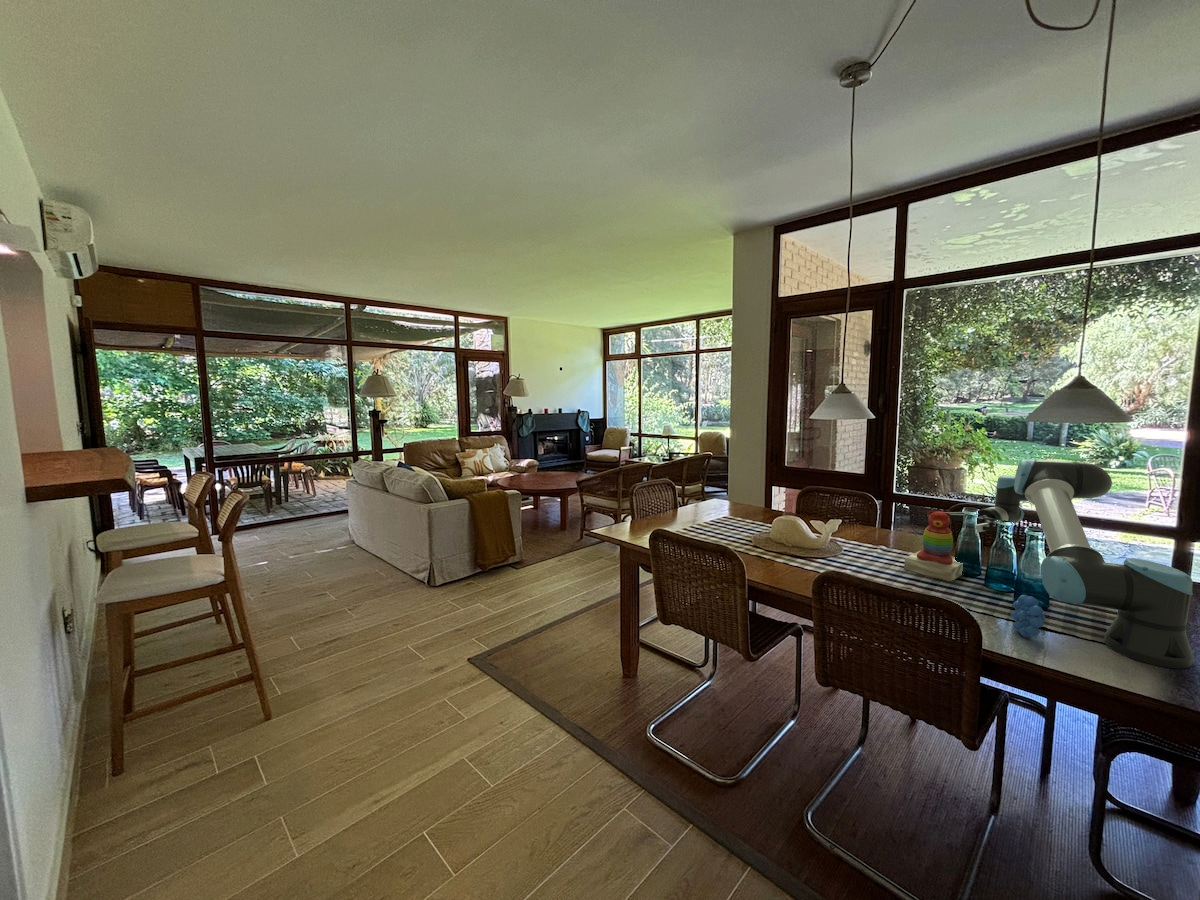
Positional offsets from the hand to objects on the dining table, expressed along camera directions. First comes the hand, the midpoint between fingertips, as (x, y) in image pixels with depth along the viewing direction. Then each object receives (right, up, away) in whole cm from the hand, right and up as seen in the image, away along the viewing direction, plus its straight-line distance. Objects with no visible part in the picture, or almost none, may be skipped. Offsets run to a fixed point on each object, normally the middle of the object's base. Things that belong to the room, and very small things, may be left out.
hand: (955, 524), depth 183 cm
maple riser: (-9, -18, -1) cm, 20 cm away
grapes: (-16, -24, -49) cm, 57 cm away
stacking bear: (-9, -12, -2) cm, 15 cm away
